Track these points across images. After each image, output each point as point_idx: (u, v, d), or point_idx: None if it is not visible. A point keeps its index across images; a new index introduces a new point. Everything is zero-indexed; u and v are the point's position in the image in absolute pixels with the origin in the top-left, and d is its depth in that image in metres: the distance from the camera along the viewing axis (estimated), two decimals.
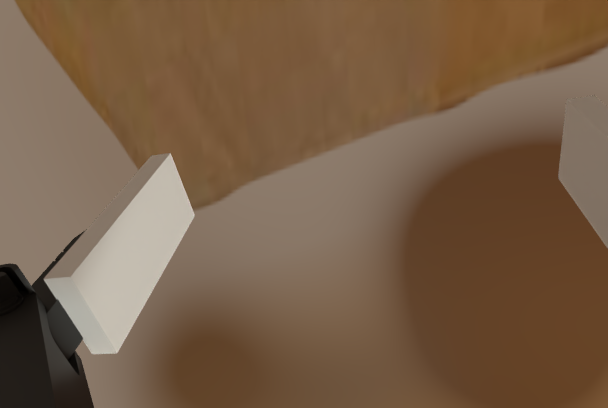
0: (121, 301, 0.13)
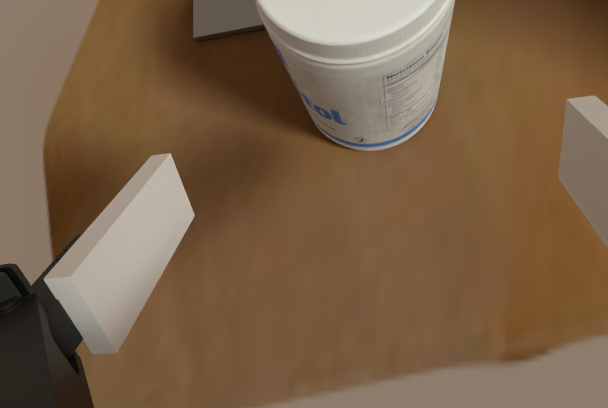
0: (121, 301, 0.13)
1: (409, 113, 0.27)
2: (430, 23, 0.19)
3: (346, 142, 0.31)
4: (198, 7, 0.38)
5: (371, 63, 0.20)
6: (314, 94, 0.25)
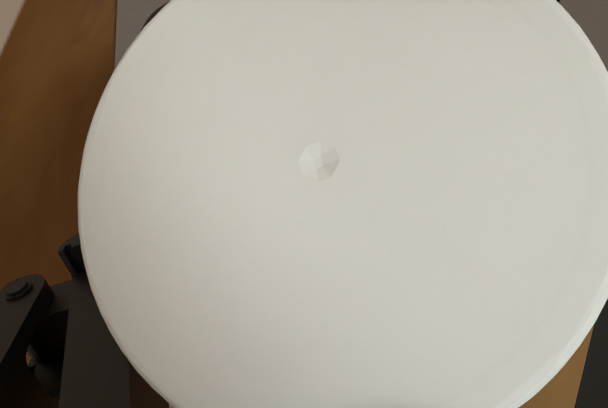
0: None
1: None
2: None
3: None
4: None
5: None
6: None
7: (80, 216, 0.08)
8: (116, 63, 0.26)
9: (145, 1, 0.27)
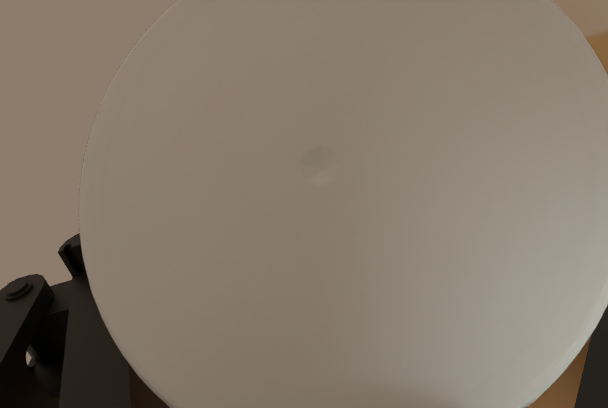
0: None
1: None
2: None
3: None
4: None
5: None
6: None
7: (81, 220, 0.08)
8: None
9: None
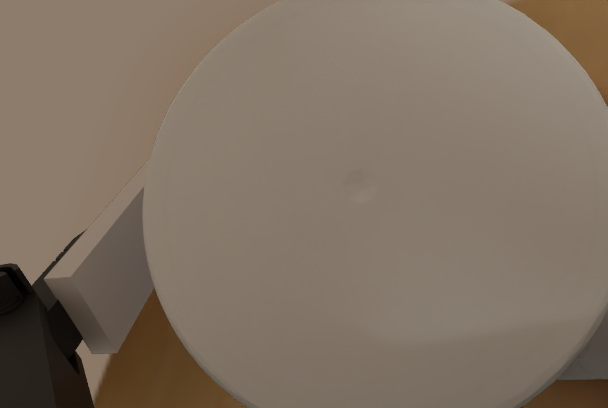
0: (121, 301, 0.13)
1: None
2: None
3: None
4: None
5: None
6: None
7: (146, 231, 0.09)
8: None
9: None
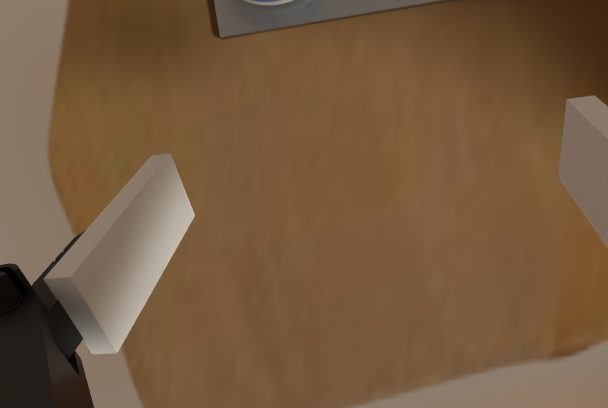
0: (121, 301, 0.13)
1: None
2: None
3: None
4: None
5: None
6: None
7: None
8: None
9: None
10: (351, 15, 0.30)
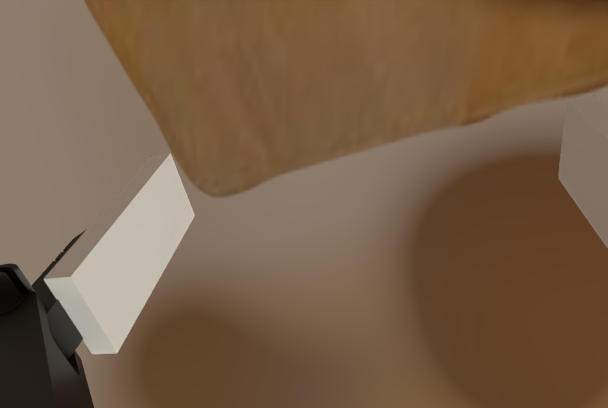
0: (121, 301, 0.13)
1: None
2: None
3: None
4: None
5: None
6: None
7: None
8: None
9: None
10: None
